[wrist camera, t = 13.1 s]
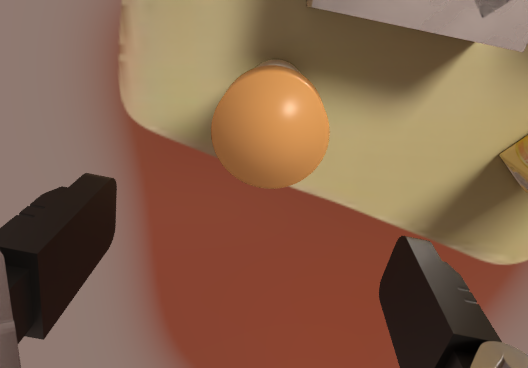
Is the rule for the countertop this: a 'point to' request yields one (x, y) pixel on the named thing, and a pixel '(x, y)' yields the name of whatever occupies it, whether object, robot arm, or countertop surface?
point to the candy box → (518, 161)
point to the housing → (446, 17)
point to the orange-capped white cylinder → (270, 126)
